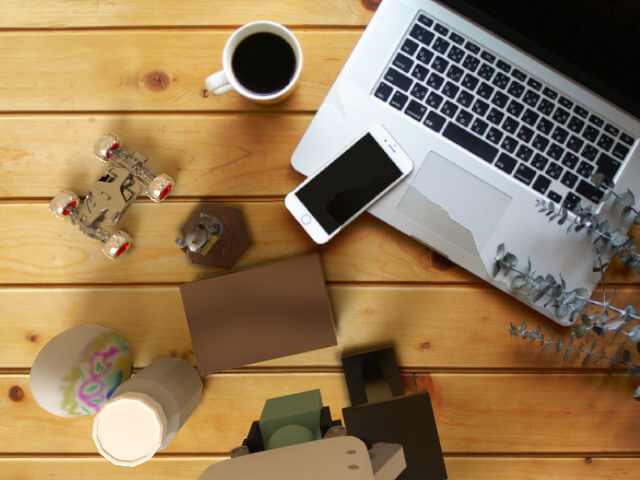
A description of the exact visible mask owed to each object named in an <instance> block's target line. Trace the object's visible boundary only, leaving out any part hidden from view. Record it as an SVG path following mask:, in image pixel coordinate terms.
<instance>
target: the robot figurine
mask: <svg viewBox="0 0 640 480" xmlns="http://www.w3.org/2000/svg"><path fill="white" fill-rule="evenodd" d="M180 234H181V236H182V239H181V238H180V237H178V236H176V237H175V239H174V240H173V242H174V243H175V244H176V245H177V246H178V247H181V248H179V250H181V252H183V253H184V254H187V253H188V255H189V258H190V261H191V264H192V265H198V266H204V267H208V268H215V269H219V270H220V269H221V270H225V271H229V270H231V268H232V267H233V266H234V264H236V262H238V260H239V258H240V257H241V256H242V255H243V254H244V253H245V252H246V250H247V249H248V248H249V247H250V245H251V244H253V241H252V238H251V235H250V233H249V230H248V227H247V224H246V222H245V219H244V216H243V213H242V210H241V208H239V207H233V206H227V205H222V204H217V203H212V202H206V201H203V202H201V204H200V205H199V206H198V207H197V209H196V210H195V212H193V214H192V215H191V216H190V217H189V218H188V220H187V221H186V222H185V223H184V224H183V226H182V227H181V228H180Z"/></svg>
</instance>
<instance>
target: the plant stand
mask: <svg viewBox="0 0 640 480" xmlns="http://www.w3.org/2000/svg"><path fill="white" fill-rule="evenodd" d="M340 362H341V366H342V370H343V374H344V379H345V384H346V388H347V392H348V397H349V402H350V406H346V407H342V408H341V416H342V419H343V424H344V427H345V430H346V434H347V435H352V436H358V437H365V438H368V439H371V442H372V444H376V443H377V442H381V443H393V444H401V445H402V447H403V452H404V457H405V461H406V468H405V469H404V470H403V471H402V472H401V473H400V474H399V475H398V476H397V477H396V479H395V480H449V475H448V471H447V467H446V461H445V458H444V454H443V449H442V445H441V439H440V436H439V431H438V425H437V422H436V416H435V413H434V408H433V404H432V399H431V395H430V392H429V390H428V389H424V390H419V391H415V392H410V393H406V394H405V391H404V388H403V383H402V379H401V378H402V377H401V374H400V370H399V365H398V364H399V363H398V361H397V355H396V351H395V346H394V345H393V344H390V345H385V346H381V347H377V348H372V349H368V350H362V351H359V352H354V353H350V354H344V355H340Z"/></svg>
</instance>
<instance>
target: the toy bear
mask: <svg viewBox="0 0 640 480" xmlns="http://www.w3.org/2000/svg"><path fill="white" fill-rule="evenodd" d="M322 407H325V406H324V402H323V398H322V393H321V388H315V389H310V390H305V391H300V392H296V393H291V394H287V395H282V396H277V397H272V398H267V399H265V403H264V405H263V408H262V410H261V414H260V416H259V419H258V420H259V427H260V431H261V435H262V440H263V445H264V449H265V451H267V450H272V449H276V448H281V447H286V446H291V445H296V444H301V443H306V442H311V441H316V440H321V439H322V437H321V432H320V427H319V423H320V416H321V409H322Z"/></svg>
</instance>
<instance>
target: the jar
mask: <svg viewBox="0 0 640 480" xmlns="http://www.w3.org/2000/svg"><path fill="white" fill-rule="evenodd" d="M203 388H204V383H203V381H202V378H201V377H200V376H199V374H198V369H197V368H196V367H194V366H193V365H191V364H190V363H189V362H188V361H186V360H185V359H184V358H178V357H172V356H171V357H169V356H165V357H162V358H160V359H158V360H155V361H153V362H150V363H149V364H148V365H146V366H144V367H143V368H142V369H141V370H139V371H138V372H137V373H135V374H133V375H132V377H131V378H130V379H128V380H127V381H125V382H124V383H123V384H121V385H120V386H118V387H117V389H116V390H115V391H114V393H113V394H112V395H111V397H110V398H109V399H108V401H107V402H106V403H105V404H104V406H103V407H102V408H101V410H100V411H99V412H97V413H96V415H95V416H94V419H93V428H92V434H91V437H92V439H93V441H94V443H95V446H96V448H97V451H98V453H99V454H100V455H101V456H102V457H104V458H105V459H106V460H108V461H109V462H110V463H112V464H113V465H115V466H124V467H131V468H134V467H136V466H138V465H141V464H143V463H145V462H147V461H150V460H151V459H152V458H153V456H154V455H155V454H156V453H158V452H160V451H162V450H164V449H165V450H166V449H167V447H168V446H169V445H170V443H172V441H173V439H174V438H175V437H176V435H177V434H178V433H179V432H180V430H181V429H182V428H183V426H185V424H186V422H188V420H189V419H190V418H191V416H192V415H193V413H194V412H195V410H197V408H198V406H199V405H200V404H201V402H202V398H203V390H204V389H203Z"/></svg>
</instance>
